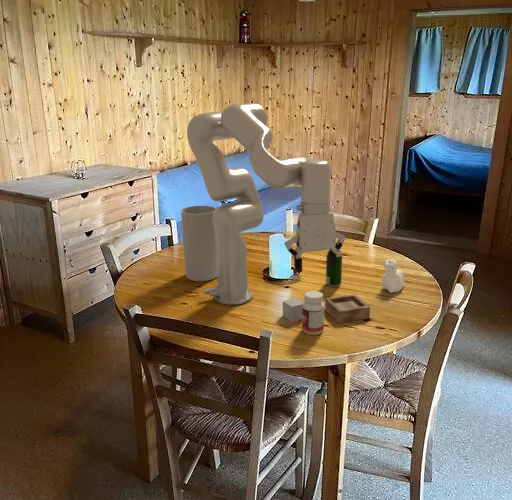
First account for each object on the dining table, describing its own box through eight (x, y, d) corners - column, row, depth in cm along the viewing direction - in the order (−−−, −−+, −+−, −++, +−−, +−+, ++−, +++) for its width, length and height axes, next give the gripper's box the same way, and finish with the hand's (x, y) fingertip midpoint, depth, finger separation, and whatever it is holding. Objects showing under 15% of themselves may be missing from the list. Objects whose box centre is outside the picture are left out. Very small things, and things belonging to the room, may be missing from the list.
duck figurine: (398, 288, 183) (382, 261, 184) (416, 280, 178) (398, 251, 179) (383, 300, 174) (365, 270, 175) (401, 291, 169) (382, 261, 170)
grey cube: (292, 322, 155) (292, 306, 154) (282, 316, 159) (282, 301, 158) (305, 318, 158) (306, 303, 156) (296, 312, 162) (296, 297, 160)
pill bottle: (300, 326, 153) (300, 290, 149) (321, 324, 153) (322, 289, 149) (304, 336, 147) (304, 299, 143) (325, 334, 147) (326, 297, 144)
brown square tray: (338, 322, 154) (339, 311, 153) (325, 309, 163) (325, 298, 162) (369, 318, 157) (369, 306, 155) (354, 304, 166) (354, 294, 165)
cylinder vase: (216, 268, 200) (213, 204, 192) (222, 280, 188) (219, 212, 180) (183, 271, 197) (179, 207, 189) (187, 283, 185) (183, 215, 177)
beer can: (332, 288, 179) (333, 255, 175) (322, 283, 183) (323, 251, 179) (344, 284, 182) (345, 252, 178) (334, 280, 186) (335, 248, 182)
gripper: (289, 214, 133) (290, 277, 138) (351, 207, 137) (350, 269, 142) (279, 207, 139) (281, 268, 145) (339, 201, 144) (338, 260, 149)
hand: (315, 268), depth 143 cm, fingers open, 9 cm apart
